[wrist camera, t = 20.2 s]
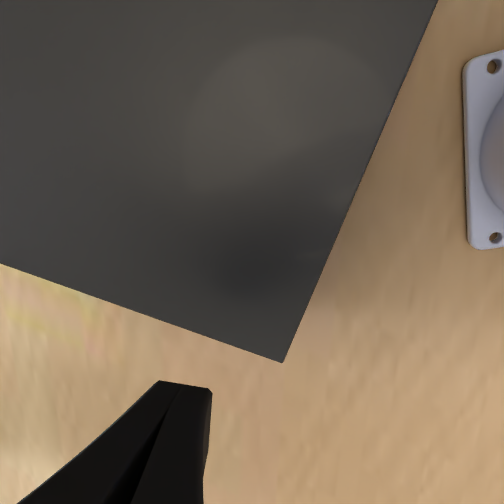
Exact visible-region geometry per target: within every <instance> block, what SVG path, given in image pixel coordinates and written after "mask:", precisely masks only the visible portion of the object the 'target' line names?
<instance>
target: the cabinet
mask: <svg viewBox="0 0 504 504" xmlns="http://www.w3.org/2000/svg"><path fill="white" fill-rule="evenodd" d="M437 2H438V0H0V263H1V264H3V265H6V266H9V267H12V268H15V269H18V270H20V271H23V272H26V273H29V274H32V275H34V276H37V277H40V278H43V279H46V280H49V281H51V282H54V283H57V284H60V285H63V286H65V287H68V288H71V289H74V290H77V291H80V292H82V293H85V294H88V295H91V296H94V297H97V298H99V299H102V300H105V301H108V302H111V303H113V304H116V305H119V306H122V307H125V308H128V309H130V310H133V311H136V312H139V313H142V314H144V315H147V316H150V317H153V318H156V319H159V320H161V321H164V322H167V323H170V324H173V325H175V326H178V327H181V328H184V329H187V330H190V331H192V332H195V333H198V334H201V335H204V336H207V337H209V338H212V339H215V340H218V341H221V342H223V343H226V344H229V345H232V346H235V347H238V348H240V349H243V350H246V351H249V352H252V353H254V354H257V355H260V356H263V357H266V358H269V359H271V360H274V361H277V362H280V363H283V362H284V359H285V357H286V355H287V352H288V350H289V348H290V345H291V343H292V341H293V338H294V336H295V334H296V331H297V329H298V327H299V324H300V322H301V320H302V317H303V315H304V313H305V310H306V308H307V306H308V303H309V301H310V299H311V296H312V294H313V292H314V289H315V287H316V285H317V282H318V280H319V278H320V275H321V273H322V271H323V268H324V266H325V264H326V261H327V259H328V256H329V254H330V252H331V249H332V247H333V245H334V242H335V240H336V238H337V235H338V233H339V231H340V228H341V226H342V224H343V221H344V219H345V217H346V214H347V212H348V210H349V207H350V205H351V203H352V200H353V198H354V196H355V193H356V191H357V189H358V186H359V184H360V182H361V179H362V177H363V175H364V172H365V170H366V168H367V165H368V163H369V161H370V158H371V156H372V154H373V151H374V149H375V147H376V144H377V142H378V140H379V137H380V135H381V133H382V130H383V128H384V126H385V123H386V121H387V119H388V116H389V114H390V112H391V109H392V107H393V105H394V102H395V100H396V98H397V95H398V93H399V91H400V88H401V86H402V84H403V81H404V79H405V77H406V74H407V72H408V70H409V67H410V65H411V63H412V60H413V58H414V56H415V53H416V51H417V49H418V46H419V44H420V42H421V39H422V37H423V35H424V32H425V30H426V28H427V25H428V23H429V21H430V18H431V16H432V14H433V11H434V9H435V7H436V4H437Z"/></svg>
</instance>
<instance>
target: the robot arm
mask: <svg viewBox="0 0 504 504" xmlns="http://www.w3.org/2000/svg"><path fill="white" fill-rule="evenodd" d="M490 61H494V62H496V65H497V68H496V71H495V72H494V73H493V74H490V73H489V72H488V71H487V65H488V63H489V62H490ZM462 78H463V109H464V140H465V171H466V201H467V232H468V242H469V244H470V245H471V246H472V247H474V248H475V249H478V250H485V249H492V248H499V247H504V50H501V51H497V52H493V53H489V54H484V55H480V56H477V57H475V58H473V59H471V60H469V61H468V62H467V63H466V65H465V66H464V68H463V73H462ZM495 232H497V233H498V235H497V238H496V239H495V240H492V241H490V240H489V237H490V235H491V234H492V233H495ZM211 406H212V392H211V391H210V390H209V389H208V388H203V387H197V386H190V385H184V384H178V383H172V382H166V381H160V380H159V381H158V382H156V383H155V384H154V385H153V386H152V387H151V388H150V389H149V390H148V391H147V392H146V393H145V394H143V395H142V396H141V397H140V398H139V399H138V400H137V401H136V402H135V403H134V404H133V405H132V406H131V407H130V408H129V409H128V410H127V411H126V412H125V413H124V414H123V415H122V416H120V417H119V418H118V419H117V420H116V421H115V422H114V423H113V424H112V425H111V426H110V427H108V428H107V429H106V430H105V431H104V432H103V433H102V434H101V435H99V436H98V437H97V438H96V439H95V440H94V441H93V442H92V443H91V444H89V445H88V446H87V447H86V448H85V449H84V450H83V451H81V452H80V453H79V454H78V455H77V456H75V457H74V458H73V459H72V460H71V461H69V462H68V463H67V464H66V465H64V466H63V467H62V468H61V469H60V470H58V471H57V472H56V473H55V474H54V475H52V476H51V477H50V478H49V479H47V480H46V481H45V482H44V483H43V484H41V485H40V486H39V487H38V488H36V489H35V490H34V491H32V492H31V493H30V494H28V495H27V496H26V497H25V498H23V499H22V500H21V501H19V502H18V503H17V504H204V502H203V475H204V469H205V463H206V459H207V454H208V447H209V433H210V420H211Z"/></svg>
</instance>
